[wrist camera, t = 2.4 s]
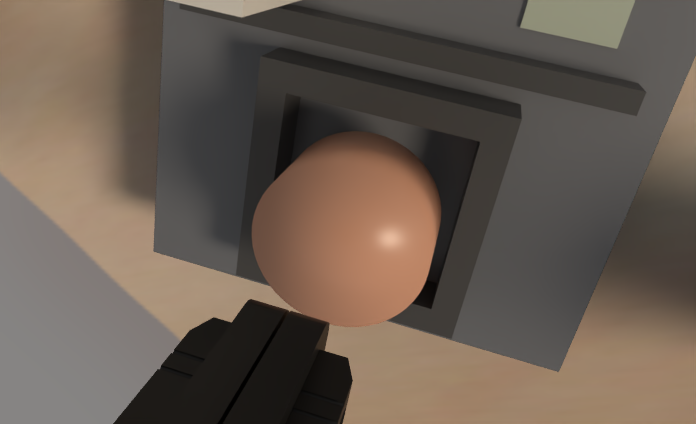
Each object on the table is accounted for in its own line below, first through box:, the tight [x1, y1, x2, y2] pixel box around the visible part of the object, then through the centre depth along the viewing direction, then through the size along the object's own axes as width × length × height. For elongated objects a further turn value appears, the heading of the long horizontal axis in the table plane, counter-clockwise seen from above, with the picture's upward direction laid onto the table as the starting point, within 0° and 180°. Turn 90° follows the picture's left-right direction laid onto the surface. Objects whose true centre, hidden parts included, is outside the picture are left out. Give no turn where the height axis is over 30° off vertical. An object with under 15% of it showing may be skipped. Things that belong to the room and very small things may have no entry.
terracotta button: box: [252, 131, 441, 327], centre depth 16 cm, size 4×4×2 cm
